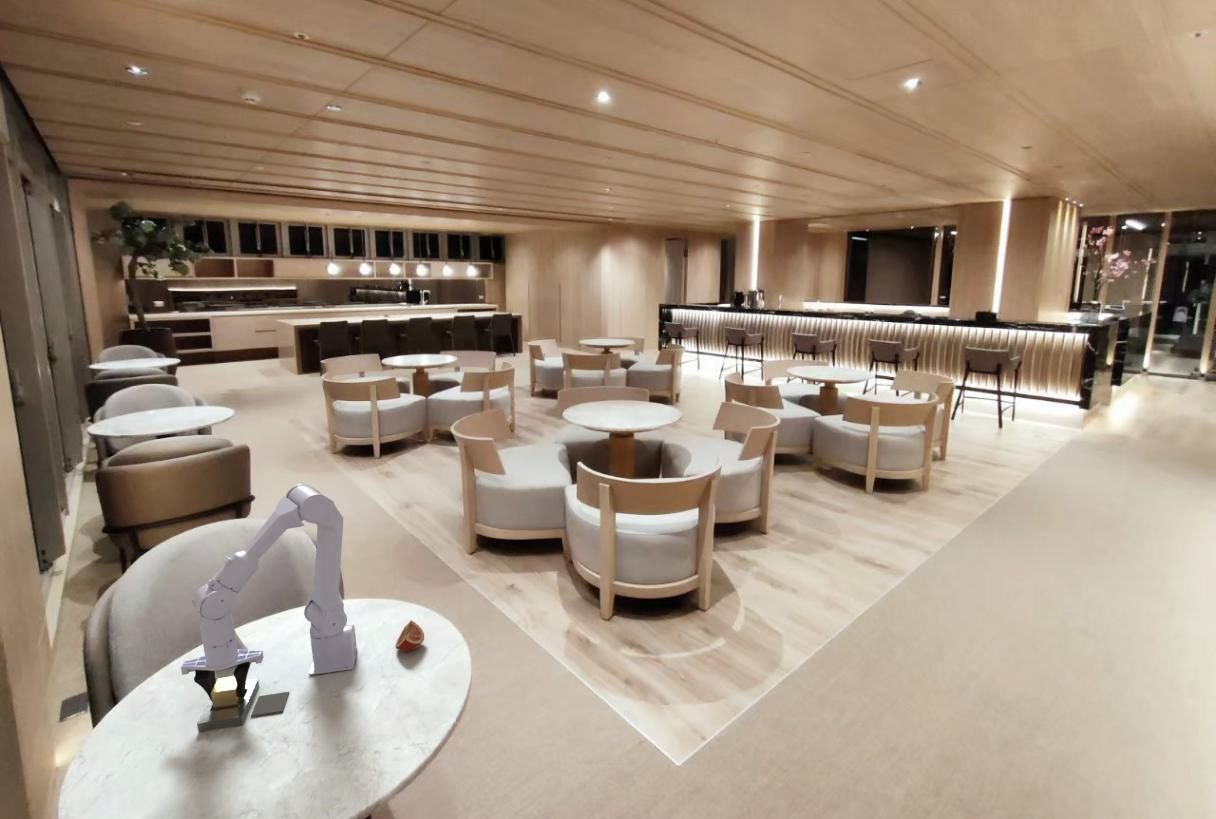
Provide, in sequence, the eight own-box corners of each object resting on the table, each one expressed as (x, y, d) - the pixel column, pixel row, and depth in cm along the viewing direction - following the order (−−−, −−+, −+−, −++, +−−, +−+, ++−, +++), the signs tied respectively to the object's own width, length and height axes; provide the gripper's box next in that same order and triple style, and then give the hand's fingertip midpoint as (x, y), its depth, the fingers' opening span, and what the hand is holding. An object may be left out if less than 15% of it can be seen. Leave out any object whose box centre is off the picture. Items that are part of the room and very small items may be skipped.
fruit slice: (400, 637, 155) (398, 620, 154) (427, 635, 156) (426, 618, 154) (392, 658, 147) (391, 640, 145) (421, 656, 147) (420, 638, 146)
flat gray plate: (289, 693, 135) (289, 691, 134) (282, 712, 129) (282, 710, 129) (259, 697, 133) (258, 696, 133) (251, 717, 127) (250, 715, 127)
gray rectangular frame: (259, 686, 137) (258, 678, 136) (242, 725, 125) (241, 716, 125) (218, 691, 135) (217, 684, 134) (198, 732, 123) (197, 723, 123)
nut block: (245, 699, 133) (241, 675, 131) (239, 713, 128) (235, 689, 127) (222, 702, 131) (218, 678, 130) (214, 717, 127) (210, 692, 126)
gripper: (263, 623, 132) (271, 677, 135) (186, 633, 128) (195, 689, 131) (254, 642, 125) (263, 699, 128) (173, 654, 121) (183, 712, 124)
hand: (228, 695), depth 129 cm, fingers closed on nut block, 4 cm apart
